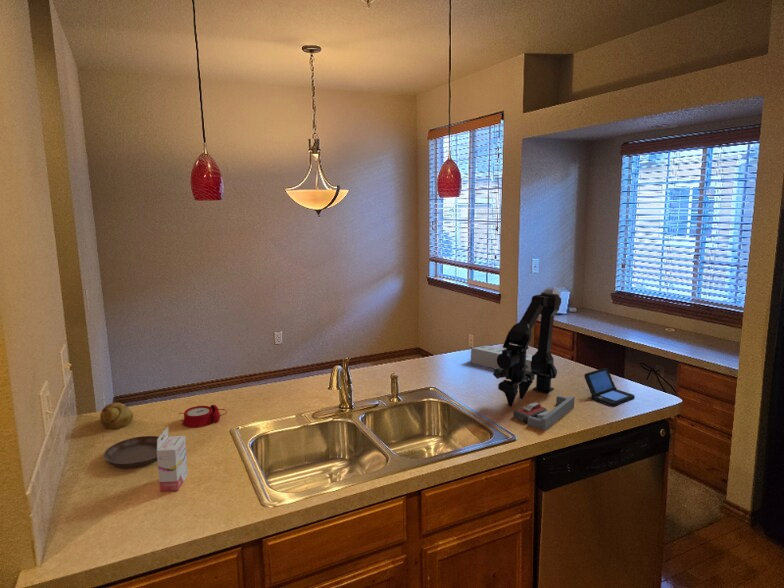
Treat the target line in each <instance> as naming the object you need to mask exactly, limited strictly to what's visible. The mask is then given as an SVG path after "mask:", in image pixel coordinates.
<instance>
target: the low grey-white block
mask: <svg viewBox="0 0 784 588" xmlns="http://www.w3.org/2000/svg"><path fill="white" fill-rule="evenodd" d="M504 349H505V348H500V347H495V346H490V345H481V346H477V347H471V348H470V363H471V364H475V365H480V366H483V367H488V368H491V367H492V369H495V368H500V367H499V366H498V364H497V357H498V356H499V355H500V354H502V350H504ZM533 355H534V354H530V353H526V365H528V368H526V369H525V371H530V372H531V361H532V356H533Z"/></svg>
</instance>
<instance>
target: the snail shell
mask: <svg viewBox="0 0 784 588" xmlns="http://www.w3.org/2000/svg"><path fill="white" fill-rule="evenodd" d="M99 418H100V422H101V424H102V426H103V427H104V428H106V429H109V430H117V429H120V428H125V427H126V426H128V425H129V424H131V422H132V421H133V419H134V414H133V411H132V410H131V408H130V407H128V406H127V405H125V404H124V403H121V402H112V403H111V402H110V403H109V404H107V405H105V406H104V407H103V408H102V410H101V412H100V417H99Z"/></svg>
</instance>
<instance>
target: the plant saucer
mask: <svg viewBox="0 0 784 588" xmlns="http://www.w3.org/2000/svg"><path fill="white" fill-rule="evenodd" d="M158 438H159V436H157V435H144V436H143V435H141V436H136V437H132V438H126V439H124V440H121V441H119V442H117V443H114V444H113V445H111V446H109V447H108V448H107V449H106V450H104V453H103V458H104V461H106V462H107V463H108V464H110V465H111V466H112V467H114V468H118V469H123V470H130V469H131V470H132V469H139V468H143V467H147V466H149V465H152V464H153V463H156V462H158V461H157V439H158ZM163 438H164V436H163V437H162V439H163ZM162 439H161V440H162Z"/></svg>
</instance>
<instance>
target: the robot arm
mask: <svg viewBox="0 0 784 588" xmlns="http://www.w3.org/2000/svg"><path fill="white" fill-rule="evenodd" d="M530 301H531V302H530V304H528V307H527V308H526V310H525V312H524V313H523V316H522V317H521V319H520V321H519V322H517V323H516V324H514V325H512V327H511V328H510V330H509V331H508V333H507V335H506V338H505V340H504V342H503V345H502V349H504V350H502V354H500V355H499V356H498V357H497V364H498V366H499V367H500V368H496V369H495V368H493V369H494V370H493V373H492V375H493V376H494V377H495V379H500V378H505V379H503V380H502V381H500V382H499V383H498V385H497V387H498V388H497V389H498V390H499V391H500V392H502V393H503V394H504V395H505V397H506V402H507V405H508V407H510V408H512V407H513V406H514V403H515V401H516V398H517V395H518V396H519V399H520V400H523V399H524V398H525V396H526V394H527V392H528V390H529V389H530V387H531V385H532V383H533V381H534V380H535V376H536V380H535V386H534V387H532V391H536V392H539V393H543V394H550V393H551V392H552V391H553V390H554V389H555V388H554V387H552V379H556V378H557V375H558V374H557V373H558V370H557V368H556V366H555V365H554V362H555V359H554V357H553V354H552V353H551V346H552V337H553V330H554V320H555V315H556V314H557V313H558V312H559V311H560V307H561V305H562V298H561V297H560V295H559V294H557V293H550V292H541V294H535V295H532V296H531V300H530ZM539 316H540V323H539V334H538V342H537V351H536V352H535V353H534V354H532V355H533V356H532V361H531V372H530V371H525V369H526V368H528V365H526V354H527V350H529V349H530V347H529V344H530V343H531V339H532V336H533V333H532V329H533V328H534V325H535V324H536V322H537V320H538V318H539Z"/></svg>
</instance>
